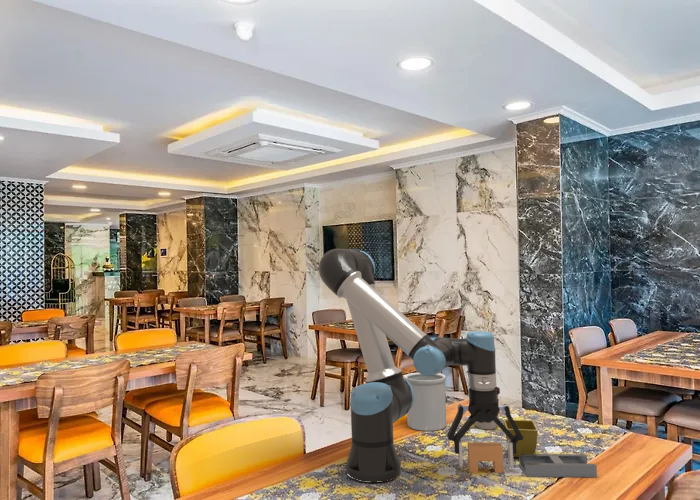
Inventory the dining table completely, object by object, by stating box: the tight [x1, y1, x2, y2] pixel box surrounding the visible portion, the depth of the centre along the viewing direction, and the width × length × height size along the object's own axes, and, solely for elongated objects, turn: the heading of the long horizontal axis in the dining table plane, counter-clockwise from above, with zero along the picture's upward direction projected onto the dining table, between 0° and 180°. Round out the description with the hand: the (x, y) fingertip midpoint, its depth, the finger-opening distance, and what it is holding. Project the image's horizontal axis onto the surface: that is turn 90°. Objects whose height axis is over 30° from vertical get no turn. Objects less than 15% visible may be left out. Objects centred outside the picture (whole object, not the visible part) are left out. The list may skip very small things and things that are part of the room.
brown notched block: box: [467, 441, 505, 474], centre depth 137 cm, size 9×3×7 cm, turn 85°
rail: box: [518, 453, 598, 478], centre depth 135 cm, size 18×8×3 cm, turn 85°
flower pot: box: [503, 419, 539, 458], centre depth 147 cm, size 9×9×9 cm
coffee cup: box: [475, 386, 501, 430], centre depth 173 cm, size 10×10×15 cm
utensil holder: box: [403, 371, 447, 432], centre depth 177 cm, size 15×15×18 cm
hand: (485, 465), depth 137 cm, fingers open, 13 cm apart
